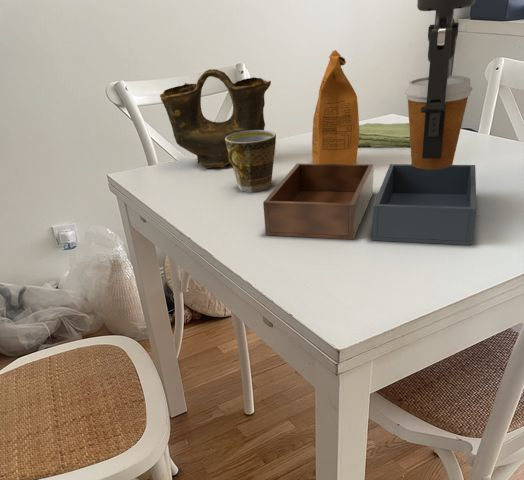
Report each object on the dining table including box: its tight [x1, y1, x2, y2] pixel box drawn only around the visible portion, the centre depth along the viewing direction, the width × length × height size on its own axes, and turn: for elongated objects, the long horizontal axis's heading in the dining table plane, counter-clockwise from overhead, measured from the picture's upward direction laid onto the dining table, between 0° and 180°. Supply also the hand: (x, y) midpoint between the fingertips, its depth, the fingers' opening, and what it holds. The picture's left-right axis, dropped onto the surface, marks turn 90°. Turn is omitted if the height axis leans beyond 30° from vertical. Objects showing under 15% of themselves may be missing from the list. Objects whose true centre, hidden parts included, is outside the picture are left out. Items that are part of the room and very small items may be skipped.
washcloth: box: [358, 122, 411, 148], centre depth 132 cm, size 13×18×3 cm
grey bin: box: [371, 163, 477, 246], centre depth 89 cm, size 15×22×6 cm
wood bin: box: [262, 162, 375, 240], centre depth 94 cm, size 15×22×6 cm
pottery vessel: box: [159, 68, 272, 169], centre depth 122 cm, size 25×11×20 cm, turn 89°
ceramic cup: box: [225, 129, 277, 193], centre depth 107 cm, size 13×10×10 cm
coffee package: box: [311, 49, 360, 164], centre depth 113 cm, size 10×12×22 cm
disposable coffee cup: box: [404, 75, 473, 169], centre depth 82 cm, size 10×10×12 cm
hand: (433, 149), depth 84 cm, fingers closed on disposable coffee cup, 8 cm apart
